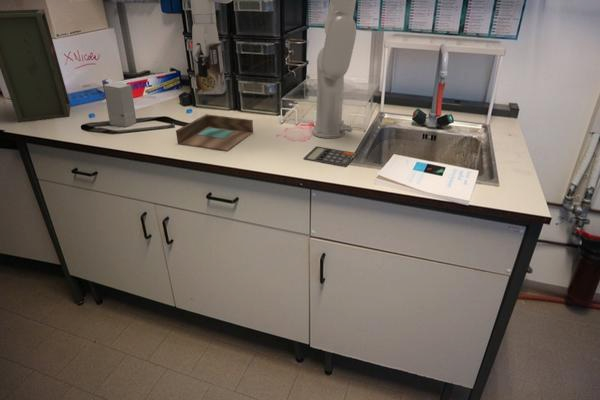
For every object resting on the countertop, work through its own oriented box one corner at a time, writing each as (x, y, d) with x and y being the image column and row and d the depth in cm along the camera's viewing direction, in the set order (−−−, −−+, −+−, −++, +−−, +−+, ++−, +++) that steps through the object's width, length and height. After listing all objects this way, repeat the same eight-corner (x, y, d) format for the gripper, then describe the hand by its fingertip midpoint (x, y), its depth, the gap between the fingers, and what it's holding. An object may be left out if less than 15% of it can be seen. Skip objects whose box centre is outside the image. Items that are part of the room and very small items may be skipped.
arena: (253, 132, 157) (252, 120, 154) (227, 151, 140) (226, 137, 138) (207, 126, 163) (206, 114, 160) (177, 143, 146) (175, 130, 144)
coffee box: (226, 90, 150) (222, 43, 142) (222, 94, 144) (218, 46, 136) (201, 89, 150) (195, 42, 142) (196, 94, 144) (191, 46, 136)
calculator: (346, 165, 129) (302, 157, 135) (346, 168, 130) (302, 160, 135) (357, 152, 139) (316, 145, 144) (357, 155, 139) (316, 148, 144)
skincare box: (109, 125, 164) (100, 85, 156) (122, 119, 170) (114, 81, 162) (126, 127, 161) (117, 87, 153) (139, 122, 167) (131, 83, 159)
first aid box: (23, 110, 181) (-10, 10, 161) (70, 105, 188) (43, 9, 168) (18, 122, 166) (-19, 14, 147) (69, 116, 173) (40, 13, 154)
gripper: (208, 16, 143) (213, 68, 152) (179, 21, 129) (186, 78, 138) (227, 17, 141) (231, 70, 150) (199, 22, 127) (206, 80, 135)
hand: (210, 73), depth 144 cm, fingers closed on coffee box, 7 cm apart
